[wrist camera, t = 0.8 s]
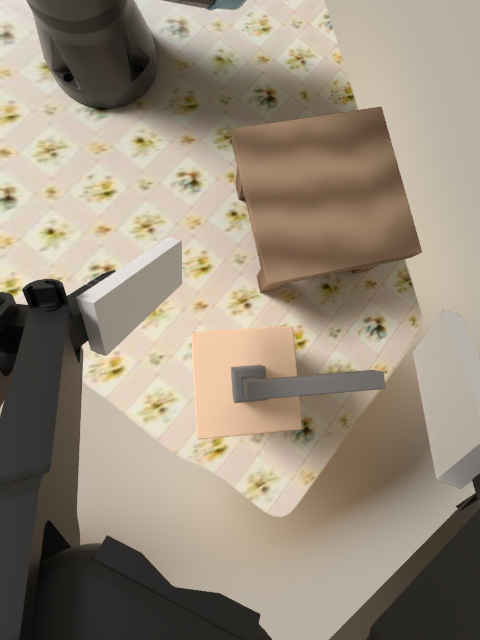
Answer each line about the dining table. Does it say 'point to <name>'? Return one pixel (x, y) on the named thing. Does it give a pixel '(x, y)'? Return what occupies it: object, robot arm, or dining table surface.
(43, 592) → the robot arm
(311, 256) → the walnut stool
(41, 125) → the dining table surface
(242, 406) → the soap dispenser
